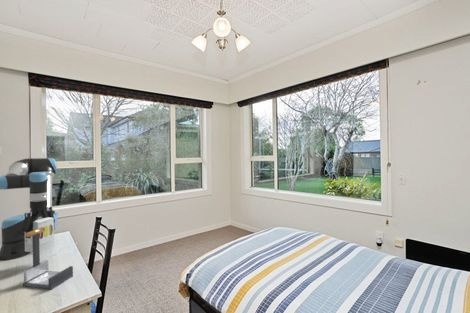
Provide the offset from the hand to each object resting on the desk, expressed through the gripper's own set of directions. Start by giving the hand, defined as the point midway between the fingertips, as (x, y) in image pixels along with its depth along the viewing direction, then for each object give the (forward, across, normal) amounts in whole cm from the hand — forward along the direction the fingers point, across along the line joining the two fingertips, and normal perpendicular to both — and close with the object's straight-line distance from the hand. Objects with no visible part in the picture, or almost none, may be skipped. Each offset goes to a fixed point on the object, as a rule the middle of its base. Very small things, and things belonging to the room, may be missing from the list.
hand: (39, 239), depth 133 cm
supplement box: (+5, 0, 0) cm, 5 cm away
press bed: (+14, -14, -21) cm, 29 cm away
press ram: (+12, -13, -13) cm, 22 cm away
